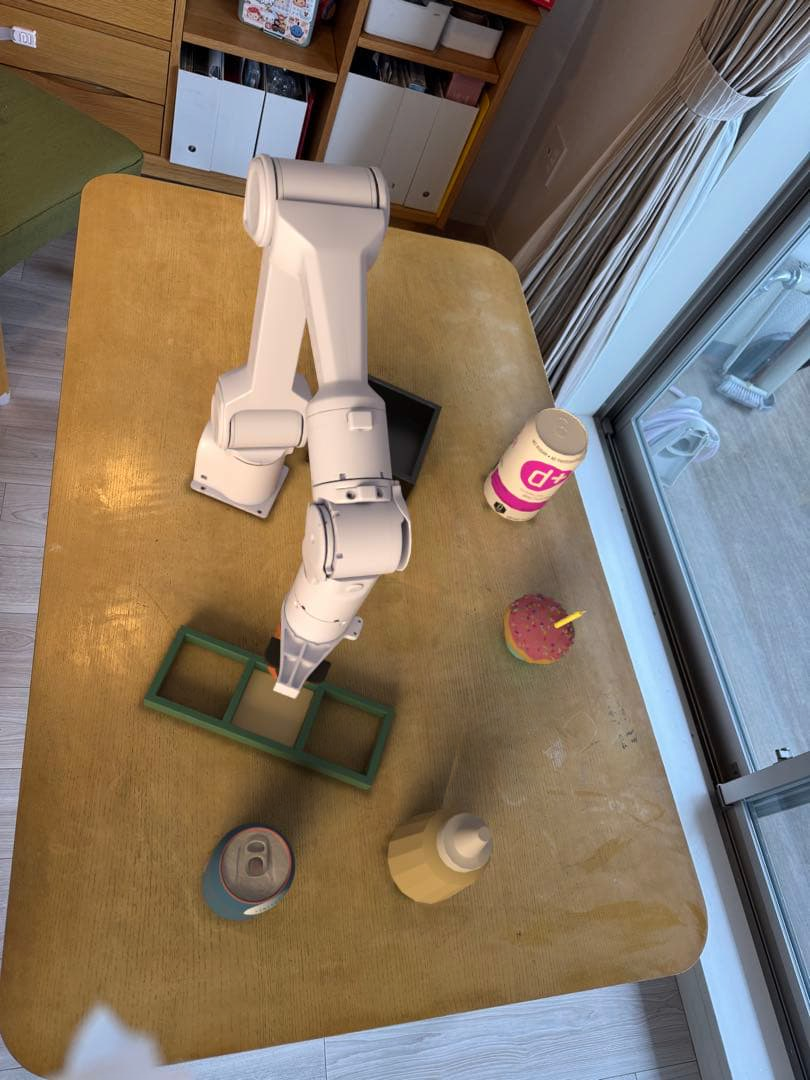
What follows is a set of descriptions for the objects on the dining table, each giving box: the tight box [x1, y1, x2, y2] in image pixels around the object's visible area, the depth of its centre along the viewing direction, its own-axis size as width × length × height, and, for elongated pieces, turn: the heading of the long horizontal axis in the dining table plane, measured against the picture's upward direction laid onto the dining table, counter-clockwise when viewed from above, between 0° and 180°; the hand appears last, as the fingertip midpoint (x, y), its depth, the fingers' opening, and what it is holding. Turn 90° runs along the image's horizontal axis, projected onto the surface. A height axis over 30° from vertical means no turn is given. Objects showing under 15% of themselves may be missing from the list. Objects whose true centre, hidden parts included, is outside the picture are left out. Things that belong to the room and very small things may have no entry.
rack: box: [143, 624, 396, 791], centre depth 79 cm, size 8×24×2 cm, turn 73°
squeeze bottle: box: [386, 806, 494, 905], centre depth 70 cm, size 8×8×18 cm
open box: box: [304, 372, 443, 502], centre depth 99 cm, size 14×14×5 cm
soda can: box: [200, 822, 296, 922], centre depth 67 cm, size 7×7×12 cm
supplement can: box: [483, 407, 590, 522], centre depth 97 cm, size 8×8×15 cm
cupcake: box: [503, 593, 588, 665], centre depth 88 cm, size 9×8×12 cm
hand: (298, 649), depth 73 cm, fingers closed on tumbler, 5 cm apart
